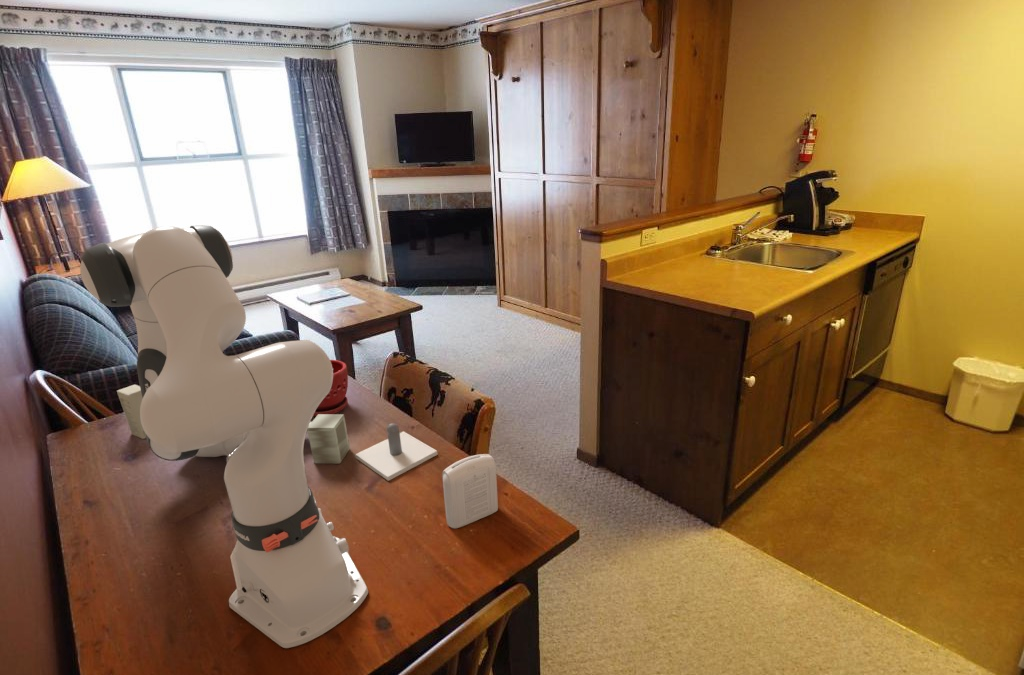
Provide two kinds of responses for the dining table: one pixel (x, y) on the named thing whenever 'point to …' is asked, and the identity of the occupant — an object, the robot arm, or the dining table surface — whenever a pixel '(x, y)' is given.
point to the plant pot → (335, 391)
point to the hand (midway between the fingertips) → (306, 437)
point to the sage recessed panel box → (328, 438)
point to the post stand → (395, 453)
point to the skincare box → (132, 408)
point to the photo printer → (470, 490)
